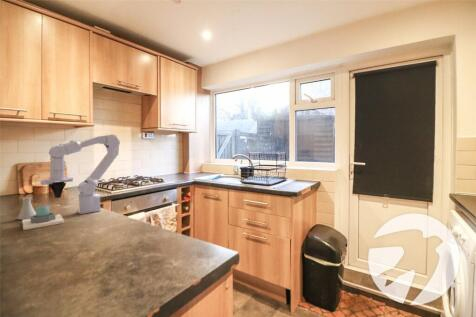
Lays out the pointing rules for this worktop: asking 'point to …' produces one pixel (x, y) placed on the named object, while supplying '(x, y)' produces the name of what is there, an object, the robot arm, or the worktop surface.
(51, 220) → the mount
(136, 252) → the worktop surface
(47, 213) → the cap
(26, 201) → the flask
